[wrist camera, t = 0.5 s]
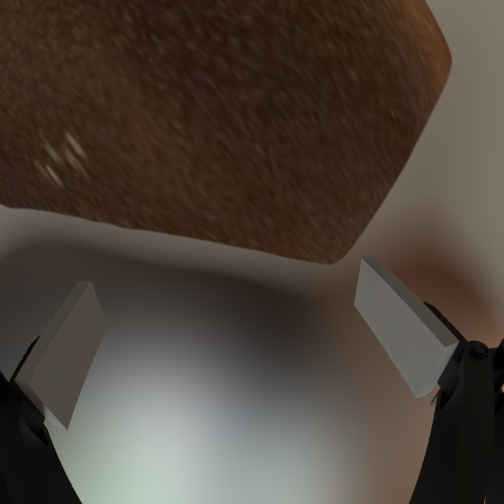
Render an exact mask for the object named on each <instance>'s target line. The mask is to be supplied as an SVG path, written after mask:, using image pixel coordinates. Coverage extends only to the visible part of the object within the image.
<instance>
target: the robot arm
mask: <svg viewBox="0 0 504 504" xmlns="http://www.w3.org/2000/svg"><path fill="white" fill-rule="evenodd" d="M354 305H355V307H356V308H357V309H358V311H359V312H360V314H361V315H362V317H363V318H364V319H365V321H366V322H367V324H368V325H369V327H370V328H371V329H372V331H373V333H374V334H375V335H376V337H377V338H378V340H379V341H380V343H381V344H382V346H383V347H384V349H385V350H386V352H387V353H388V355H389V356H390V358H391V359H392V361H393V362H394V364H395V365H396V367H397V369H398V370H399V372H400V373H401V375H402V376H403V378H404V379H405V381H406V383H407V384H408V385H409V387H410V389H411V390H412V392H413V394H414V395H415V397H416V398H419V397H422V396H424V395H426V394H428V393H431V391H432V390H433V388H434V386H435V385H436V383H438V384H439V386H440V387H441V388H440V389H439V391H438V393H437V394H436V396H435V397H434V398H433V400H432V402H431V404H430V405H433V404H434V403H435V401H436V400H437V402H436V407H435V413H434V419H433V424H432V428H431V433H430V438H429V442H428V446H427V450H426V454H425V457H424V461H423V464H422V468H421V471H420V474H419V477H418V480H417V483H416V486H415V489H414V491H413V494H412V497H411V499H410V502H409V504H484V500H485V504H504V392H503V391H502V386H503V385H504V339H502V341H501V343H500V345H499V347H497V348H489V349H488V347H487V346H486V345H485V344H483V343H481V342H479V341H469V342H468V341H467V340H466V339H465V338H464V337H463V336H462V335H461V333H459V331H458V330H457V329H456V328H455V327H454V326H453V325H452V324H451V323H450V322H448V320H447V319H446V318H445V317H444V316H442V314H441V313H440V312H439V311H438V310H437V309H436V308H435V307H434V306H432V305H430V304H428V303H427V302H422V301H421V300H420V299H419V298H418V297H417V296H416V295H415V294H414V293H413V292H412V291H411V290H410V289H409V288H408V287H407V286H405V285H404V284H403V283H402V282H401V281H400V280H399V279H398V278H397V277H396V276H395V275H394V274H393V273H392V272H391V271H390V270H388V268H386V267H385V266H384V265H383V264H382V263H381V262H380V261H379V260H378V259H376V258H375V257H368V258H362V260H361V267H360V273H359V280H358V286H357V292H356V297H355V303H354ZM107 327H108V326H107V323H106V321H105V318H104V315H103V313H102V310H101V308H100V305H99V302H98V299H97V296H96V294H95V291H94V288H93V285H92V282H91V281H86V282H79V283H78V284H77V285H76V287H75V288H74V289H73V290H72V292H71V293H70V294H69V296H68V297H67V299H66V300H65V301H64V303H63V304H62V305H61V307H60V308H59V310H58V311H57V313H56V314H55V316H54V317H53V318H52V320H51V321H50V323H49V324H48V326H47V327H46V329H45V330H44V332H43V333H42V335H41V336H39V337H38V338H37V339H36V340H35V341H34V342H32V343H31V345H30V347H29V348H28V350H27V353H25V355H24V356H23V360H21V361H20V363H19V365H18V367H17V368H16V370H15V372H14V374H13V375H12V377H11V379H10V381H9V382H8V381H7V380H6V378H5V377H4V376H3V374H2V373H1V371H0V504H82V503H81V501H80V499H79V497H78V496H77V494H76V492H75V490H74V488H73V487H72V485H71V483H70V481H69V479H68V477H67V475H66V473H65V471H64V469H63V466H62V464H61V462H60V460H59V457H58V455H57V453H56V450H55V448H54V445H53V443H52V440H51V438H50V435H49V433H48V430H47V428H46V426H45V425H44V424H43V423H44V420H45V418H46V419H47V420H48V422H49V423H50V424H51V425H52V426H53V427H57V428H61V429H65V430H68V426H69V424H70V420H71V417H72V414H73V411H74V409H75V406H76V403H77V400H78V397H79V394H80V392H81V389H82V386H83V384H84V381H85V379H86V376H87V373H88V371H89V368H90V366H91V363H92V361H93V359H94V356H95V354H96V351H97V349H98V347H99V345H100V342H101V340H102V338H103V335H104V333H105V331H106V329H107Z"/></svg>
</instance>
